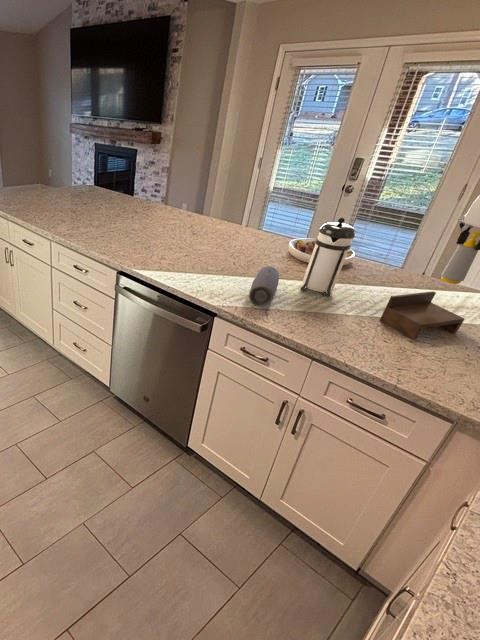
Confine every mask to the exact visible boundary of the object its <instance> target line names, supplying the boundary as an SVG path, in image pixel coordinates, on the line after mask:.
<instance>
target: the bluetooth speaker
mask: <svg viewBox="0 0 480 640" xmlns="http://www.w3.org/2000/svg"><path fill="white" fill-rule="evenodd" d="M279 281H280V274H279V270H278V269H277V268H276V267H274V266H264V267H262V268H261V269H260V270H258V272H257V273H256V275H255V277H254V279H253V280H252V283H251V286H250V289H249V295H248V296H249V297H248V298H249V301H250V303H251V304H252V305H253V306H256V307H261V308H262V307H263V308H264V307H266V306H268V305H270V304H271V303H272V301H273V300H274V297H275V295H276V293H277V290H278V287H279Z"/></svg>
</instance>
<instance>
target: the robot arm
mask: <svg viewBox="0 0 480 640" xmlns="http://www.w3.org/2000/svg"><path fill="white" fill-rule="evenodd" d="M457 222H458V224H459V228H460V230H459V231H460V234H459V235H458V238H457V241H456V243H455V244H457V245H459V244H464V243H465V242H467V241H468V239H469V236H470V234H471V231H472V229H473V228H479V229H480V194H479V195H477V197H476V199H474V201H473V203H472V204H471V205H470V207H469V209H468V210H467V212H466V213H465V214H464V215H461V216H459V217H458V218H457ZM476 244H477V245H476V247H475V250H478V251H480V239H479V240H478V241H477V243H476Z"/></svg>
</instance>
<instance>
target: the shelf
mask: <svg viewBox="0 0 480 640" xmlns="http://www.w3.org/2000/svg"><path fill="white" fill-rule="evenodd" d="M436 294H437V292H436V291H434V290H433V291H425V292H416V293H415V292H414V293H406V294H398V295H397V294H396V295H391V296H390V298H389V299H388V302H387V303H386V306H385V308H384V310H383V312H382V314H381V316H380V318H379V321H380V322H382V324H385V325H387V326H388V327H390V328H392V329H394V330H395V331H396V332H399V333H400V334H402V335H404V336H406V337H407V338H408V339H411V340H412V341H415V340H417V339H418V337H419V336H420V334H421V332H422V330H423V329H427V328H433V327H439V328H441V329H443V330H444V331H447V332H449V333H450V334H453V335H456V334H457V333H458V331H459V329H460V327H462V324H463V323H464V321H465V317H462V316H460V315H458V314H456V313H454V312H452V311H450V310H448V309H445V308H444V307H442V306H439V305H438V304H435V303H433V302H432V301H433V299H434V297H435V296H436Z"/></svg>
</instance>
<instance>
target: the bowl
mask: <svg viewBox="0 0 480 640" xmlns="http://www.w3.org/2000/svg"><path fill="white" fill-rule="evenodd" d="M316 239H317V238H295V239H292V240H291V241H289V243H288V246H287V247H288V251H289V253H290V255H291V256H293V257H294V258H296V259H297V260H299V261H300V262H301V261H302V262H303V263H307V264H309V261H310V258H311V256H312V253H313V250H314V247H315V244H316V243H315V242H316ZM355 256H356V253H355V250H353V249H351V248H350V249H349V250H348V253H347V255H346V258H345V261H344V263H343V266H346V265H348V264H350V263H352V261H353V260H354V259H355Z"/></svg>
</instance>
